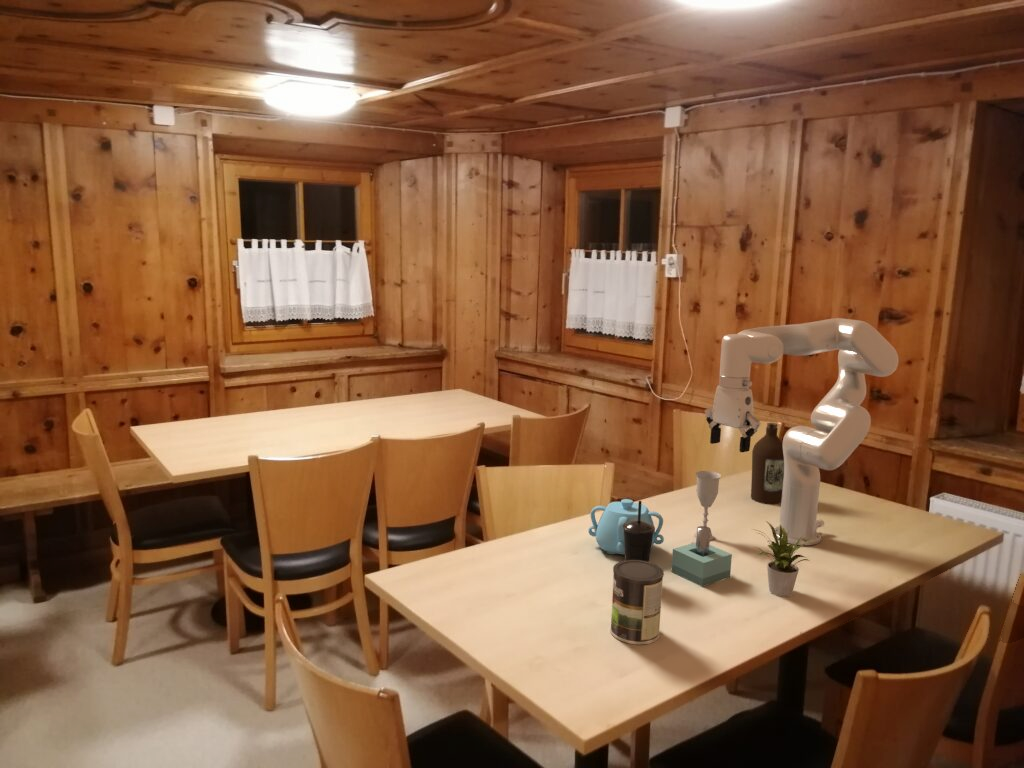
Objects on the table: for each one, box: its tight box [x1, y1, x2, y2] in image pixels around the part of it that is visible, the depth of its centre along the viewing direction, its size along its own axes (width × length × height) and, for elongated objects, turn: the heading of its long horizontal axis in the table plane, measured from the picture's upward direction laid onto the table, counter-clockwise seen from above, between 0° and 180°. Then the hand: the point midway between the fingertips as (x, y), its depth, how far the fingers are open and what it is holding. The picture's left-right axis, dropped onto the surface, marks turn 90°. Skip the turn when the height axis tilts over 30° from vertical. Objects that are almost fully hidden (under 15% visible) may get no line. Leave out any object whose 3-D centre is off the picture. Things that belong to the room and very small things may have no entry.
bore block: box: [671, 541, 733, 587], centre depth 193 cm, size 10×10×6 cm
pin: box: [695, 525, 712, 557], centre depth 192 cm, size 3×3×10 cm
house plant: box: [751, 520, 815, 597], centre depth 184 cm, size 14×14×16 cm
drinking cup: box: [623, 500, 656, 562], centre depth 188 cm, size 8×8×20 cm
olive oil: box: [750, 422, 784, 505], centre depth 249 cm, size 11×11×25 cm
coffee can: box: [610, 559, 665, 646], centre depth 163 cm, size 10×10×14 cm
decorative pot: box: [588, 498, 665, 556], centre depth 207 cm, size 16×16×14 cm
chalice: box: [694, 470, 722, 541], centre depth 217 cm, size 7×7×18 cm
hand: (729, 447), depth 204 cm, fingers open, 9 cm apart
